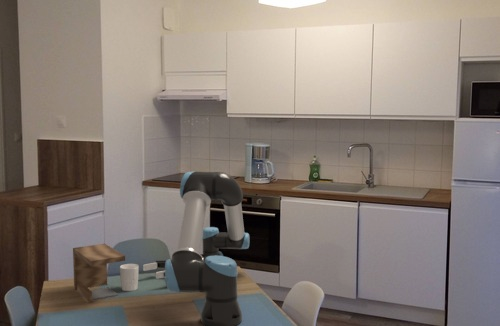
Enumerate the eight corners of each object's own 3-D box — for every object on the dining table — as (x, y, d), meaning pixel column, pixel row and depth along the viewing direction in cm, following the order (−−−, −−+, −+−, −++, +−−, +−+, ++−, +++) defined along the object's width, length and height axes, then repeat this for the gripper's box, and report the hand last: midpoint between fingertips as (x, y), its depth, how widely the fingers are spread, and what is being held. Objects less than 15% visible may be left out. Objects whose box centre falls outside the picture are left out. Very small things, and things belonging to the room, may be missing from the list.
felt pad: (108, 288, 240) (108, 287, 240) (117, 295, 231) (117, 294, 231) (83, 293, 233) (83, 291, 233) (91, 300, 224) (91, 299, 224)
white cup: (116, 290, 237) (116, 268, 236) (126, 285, 244) (125, 263, 243) (133, 292, 234) (132, 269, 233) (142, 286, 242) (141, 264, 241)
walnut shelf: (105, 283, 247) (104, 243, 245) (126, 298, 227) (125, 255, 225) (73, 289, 239) (72, 248, 237) (91, 305, 219) (90, 261, 217)
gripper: (205, 278, 246) (162, 287, 234) (180, 265, 267) (138, 272, 255) (205, 262, 245) (161, 270, 233) (180, 250, 266) (138, 256, 254)
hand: (149, 271), depth 244 cm, fingers open, 13 cm apart
